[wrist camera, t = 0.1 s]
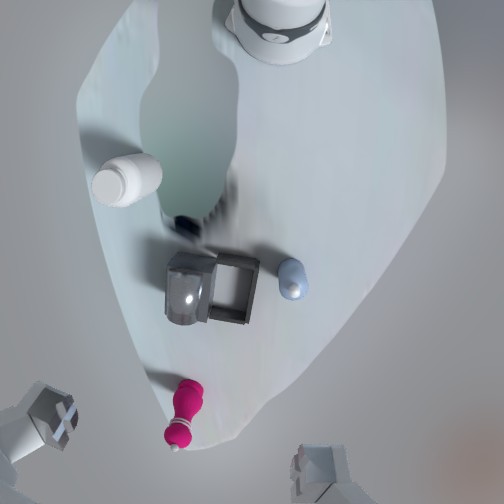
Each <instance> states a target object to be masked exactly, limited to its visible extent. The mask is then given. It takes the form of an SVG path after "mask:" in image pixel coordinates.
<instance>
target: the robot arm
mask: <svg viewBox="0 0 504 504" xmlns="http://www.w3.org/2000/svg"><path fill="white" fill-rule="evenodd" d="M225 26H226V28H227V29H228V30H229V31H231V32H232V33H233V34H235V35H236V36H237V37H238V39H239V41H240V43H241V44H242V46H243V47H244V49H245V50H246V51H247V52H248V53H249V54H250V55H252V56H253V57H255V58H256V59H258V60H260V61H263V62H266V63H270V64H276V65H285V64H292V63H295V62H298V61H301V60H303V59H304V58H306V57H307V56H309V55H310V54H311V53H312V52H313V51H314V50H316V49H317V48H321V47H324V46H327V45H329V44H330V43H331V42H332V30H331V20H330V10H329V2H328V0H234V5H233V7H232V9H231V11H230V13H229V15H228V17H227V19H226V22H225ZM325 33H327V34H325ZM73 402H74V400H73V397H72V395H70V394H67V393H65V392H62V391H60V390H57V389H55V388H53V387H51V386H49V385H47V384H44V383H42V382H40V381H37V382H36V383H34V384H33V386H32V387H31V388H30V389H29V391H28V392H27V393H26V395H25V396H24V397H23V399H22V400H21V401H20V403H19V404H18V405H17V406H16V407H14V406H12V407H9V408H7V409H4V410H2V411H0V504H40V503H38V502H36V501H34V500H33V499H31V498H29V497H28V496H26V495H24V494H23V493H21V492H19V491H18V490H16V489H15V488H13V487H14V484H15V482H16V481H17V479H18V477H19V473H18V471H17V470H16V469H15V467H14V466H13V465H12V463H13V462H15V461H16V460H19V459H20V458H22V457H24V456H25V455H27V454H29V453H31V452H32V451H34V450H36V449H37V448H39V447H40V446H42V445H44V443H46V444H48V445H50V446H52V447H54V448H57V449H59V450H61V451H63V450H64V448H65V446H66V444H67V442H68V440H69V435H68V433H70V432H72V431H74V429H75V427H76V426H77V422H78V411H77V409H76V408H75V406H74V405H73ZM290 478H291V479H292V480H293V481H294V484H293V485H292V487H291V502H292V503H315V504H377V502H376V501H374V500H373V498H371V497H370V496H369V495H368V494H367V493H366V492H365V491H364V490H363V489H362V488H361V487H360V486H359V485H358V484H357V483H356V482H352V480H351V474H350V470H349V464H348V459H347V454H346V449H345V447H344V445H328V444H326V445H325V444H323V445H321V444H317V445H316V444H301V445H300V446H299V448H298V454H297V455H294V458H293V460H292V463H291V469H290Z"/></svg>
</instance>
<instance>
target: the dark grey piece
mask: <svg viewBox="0 0 504 504" xmlns="http://www.w3.org/2000/svg"><path fill="white" fill-rule="evenodd" d="M217 264H222V265H228V266H234V267H240V268H245V269H251V270H254V272H253V277H252V283H251V288H250V294H249V299H248V305H247V310H246V312H243V311H237V310H231V309H226V308H220V307H214V306H212V303H213V295H214V287H215V279H216V271H217ZM259 265H260V261H256V259H255V258H249V257H243V256H237V255H231V254H225V253H220V252H219V253H218V256H217V258H211V257H205V256H199V255H193V254H188V253H182V252H177V253H176V254H175V255H174V257H173V258H172V259H171V261H170V262H169V263H168V265H167V269H166V290H165V315H167V318H168V320H169V321H171V322H172V323H175V324H178V325H191V324H194V323H196V322H197V321H200V322H205V323H207V319H208V316H209V319H214V320H220V321H226V322H231V323H237V324H243V325H244V324H245V323H248V324H249V320H250V315H251V310H252V304H253V299H254V294H255V289H256V284H257V278H258V273H259ZM211 307H212V308H211ZM210 310H211V311H210ZM209 313H210V314H209Z"/></svg>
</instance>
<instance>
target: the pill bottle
mask: <svg viewBox="0 0 504 504" xmlns="http://www.w3.org/2000/svg"><path fill="white" fill-rule="evenodd" d="M161 180H162V168H161V165H160V163H159V162H158V160H157V159H156V158H155V157H153V156H152V155H149V154H145V153H139V154H132V155H126V156H120V157H115V158H112V159H110V160H108V161H106V162H105V163H104V164H103V165H102V167H101V168H100V170H99V172H97V173H96V174H95V176H94V178H93V180H92V186H91V188H92V193H93V196H94V197H95V199H96V200H97V201H98V202H99V203H101V204H103V205H110V206H113V207H118V208H121V207H126V206H129V205H131V204H132V203H134V202H136V201H138V200H140V199H142V198H144V197H145V196H147V195H149V194H151V193H153V192H154V191H155V190H156V189H157V188H158V187H159V185H160V183H161Z"/></svg>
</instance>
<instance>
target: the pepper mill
mask: <svg viewBox="0 0 504 504" xmlns="http://www.w3.org/2000/svg"><path fill="white" fill-rule="evenodd" d="M202 395H203V387H202V386H201V385H200V384H199V383H198V382H196V381H193V380H184V381H182V382H181V383H180V384H179V387H178V390H177V391H176V392H175V393H174V396H173V406H174V410H175V416H174V418H173V419H171V421H170V424H169V427H167V428H166V430H165V433H164V438H165V440H166V442H167V443H168V444H169V445H170V446H171V450H172V451H178V449H179V448H185V447H187V446H188V445H189V444H190V442H191V439H192V435H191V433H190V432H191V429H192V425H191V420H192V418H193V416H194V415H195V414H196V413H197V412H198V411H199V410H200V409H201V407H202V404H203V399H202Z"/></svg>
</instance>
